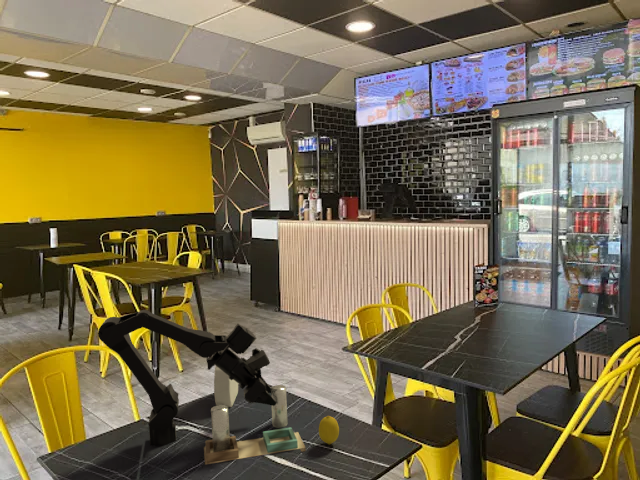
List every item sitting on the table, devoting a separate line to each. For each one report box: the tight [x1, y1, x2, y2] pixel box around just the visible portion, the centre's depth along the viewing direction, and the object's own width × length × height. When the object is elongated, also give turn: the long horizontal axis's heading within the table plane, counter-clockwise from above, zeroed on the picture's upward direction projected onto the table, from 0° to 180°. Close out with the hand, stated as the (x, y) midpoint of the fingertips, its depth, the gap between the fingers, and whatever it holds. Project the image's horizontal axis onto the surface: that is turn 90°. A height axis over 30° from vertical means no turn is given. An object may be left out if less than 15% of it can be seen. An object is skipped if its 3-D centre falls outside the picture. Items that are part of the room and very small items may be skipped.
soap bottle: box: [213, 365, 239, 408], centre depth 166 cm, size 16×5×20 cm, turn 179°
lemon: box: [318, 415, 340, 445], centre depth 135 cm, size 6×6×8 cm
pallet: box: [203, 426, 307, 465], centre depth 133 cm, size 26×9×3 cm, turn 105°
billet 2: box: [270, 384, 288, 429], centre depth 145 cm, size 4×4×12 cm
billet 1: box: [210, 405, 231, 452], centre depth 130 cm, size 4×4×12 cm
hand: (273, 397), depth 145 cm, fingers open, 9 cm apart
